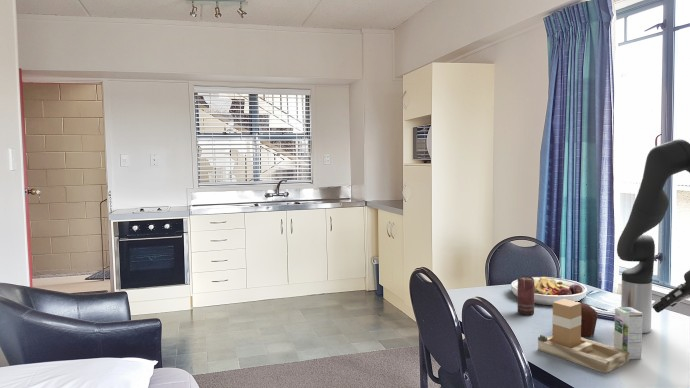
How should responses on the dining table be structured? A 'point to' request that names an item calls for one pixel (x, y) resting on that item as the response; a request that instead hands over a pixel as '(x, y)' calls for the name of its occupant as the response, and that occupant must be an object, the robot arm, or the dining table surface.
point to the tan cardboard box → (566, 323)
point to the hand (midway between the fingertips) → (662, 306)
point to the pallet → (586, 353)
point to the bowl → (553, 290)
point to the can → (526, 296)
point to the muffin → (588, 320)
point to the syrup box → (628, 331)
